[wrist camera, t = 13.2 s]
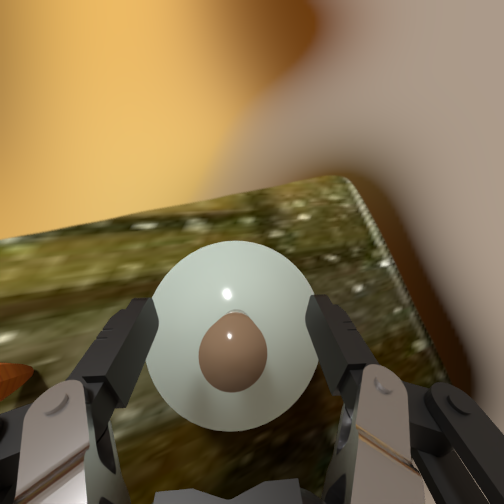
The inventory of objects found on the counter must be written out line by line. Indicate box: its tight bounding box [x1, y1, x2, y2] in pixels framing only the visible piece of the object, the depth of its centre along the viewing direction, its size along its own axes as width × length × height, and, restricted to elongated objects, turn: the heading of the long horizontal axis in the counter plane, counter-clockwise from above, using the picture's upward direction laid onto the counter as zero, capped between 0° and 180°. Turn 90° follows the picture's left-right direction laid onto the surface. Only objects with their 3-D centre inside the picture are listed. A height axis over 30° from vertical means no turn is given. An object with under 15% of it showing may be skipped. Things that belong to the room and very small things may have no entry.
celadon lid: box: [146, 241, 319, 432], centre depth 12 cm, size 14×14×10 cm
